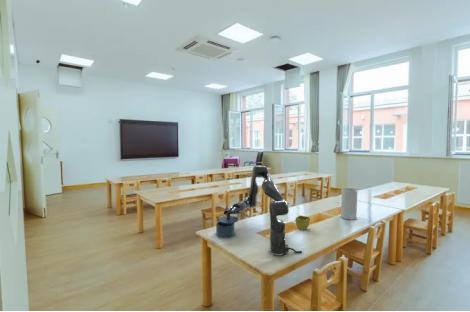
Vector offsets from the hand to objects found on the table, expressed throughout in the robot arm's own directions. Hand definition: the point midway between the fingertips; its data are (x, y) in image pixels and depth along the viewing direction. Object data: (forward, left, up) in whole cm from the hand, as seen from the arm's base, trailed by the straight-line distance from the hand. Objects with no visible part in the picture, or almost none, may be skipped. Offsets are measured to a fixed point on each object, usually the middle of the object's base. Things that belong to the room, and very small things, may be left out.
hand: (226, 213), depth 181 cm
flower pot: (-56, -24, -18) cm, 64 cm away
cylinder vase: (-99, -56, -18) cm, 115 cm away
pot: (+2, -5, -18) cm, 19 cm away
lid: (-1, -3, -6) cm, 7 cm away
